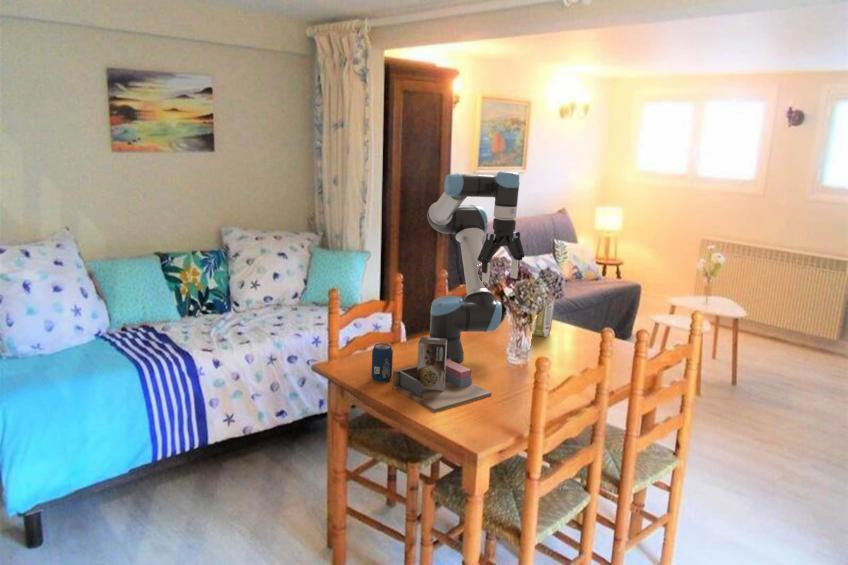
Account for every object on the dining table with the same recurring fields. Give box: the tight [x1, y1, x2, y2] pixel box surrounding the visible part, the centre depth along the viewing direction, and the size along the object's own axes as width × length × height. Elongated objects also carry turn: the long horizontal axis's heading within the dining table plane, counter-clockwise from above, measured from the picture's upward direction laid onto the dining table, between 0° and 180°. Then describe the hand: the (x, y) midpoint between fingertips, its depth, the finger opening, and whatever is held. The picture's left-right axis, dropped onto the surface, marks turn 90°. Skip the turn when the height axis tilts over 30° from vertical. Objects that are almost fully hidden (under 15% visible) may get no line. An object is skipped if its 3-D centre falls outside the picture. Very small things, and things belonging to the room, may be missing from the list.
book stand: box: [392, 358, 492, 413], centre depth 208 cm, size 22×24×6 cm
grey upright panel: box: [398, 371, 423, 398], centre depth 204 cm, size 12×1×5 cm, turn 38°
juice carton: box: [532, 299, 555, 338], centre depth 272 cm, size 8×9×19 cm
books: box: [445, 360, 473, 387], centre depth 216 cm, size 12×5×5 cm, turn 38°
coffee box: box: [417, 336, 447, 391], centre depth 208 cm, size 9×6×16 cm
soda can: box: [371, 342, 394, 383], centre depth 215 cm, size 7×7×12 cm
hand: (499, 280), depth 217 cm, fingers open, 13 cm apart
